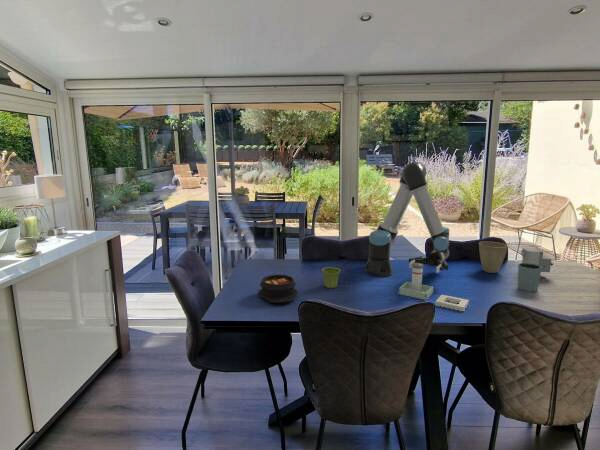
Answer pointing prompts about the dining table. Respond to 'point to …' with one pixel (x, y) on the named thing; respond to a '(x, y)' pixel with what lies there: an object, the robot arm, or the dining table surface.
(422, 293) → the parts tray
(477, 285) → the dining table surface
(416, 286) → the fuse
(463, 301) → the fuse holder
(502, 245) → the plant pot
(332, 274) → the plant pot
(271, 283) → the casserole
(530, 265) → the teal cylinder
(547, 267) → the circuit breaker
